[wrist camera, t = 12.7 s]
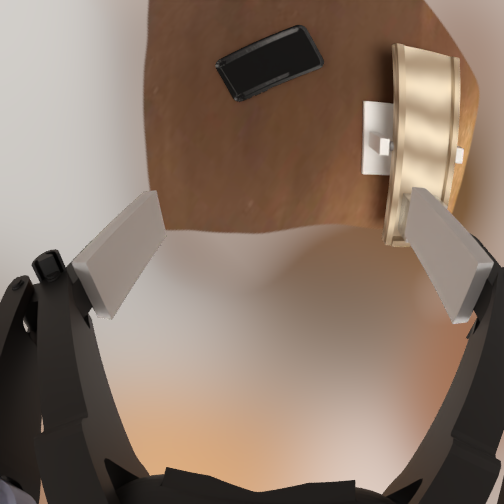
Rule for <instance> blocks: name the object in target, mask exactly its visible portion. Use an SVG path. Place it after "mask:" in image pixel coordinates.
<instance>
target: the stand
mask: <svg viewBox="0 0 504 504" xmlns="http://www.w3.org/2000/svg"><path fill="white" fill-rule="evenodd" d="M393 110H394V104H391V103H383V102H373V101H363V141H362V167H361V173H362V174H373V175H390V169H391V156H392V151H390V150H389V143H390V141H392V140H393ZM463 152H464V149H463V148H461V147H459V146H457V151H456V160H455V163H460V164H462V160H463Z"/></svg>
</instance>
